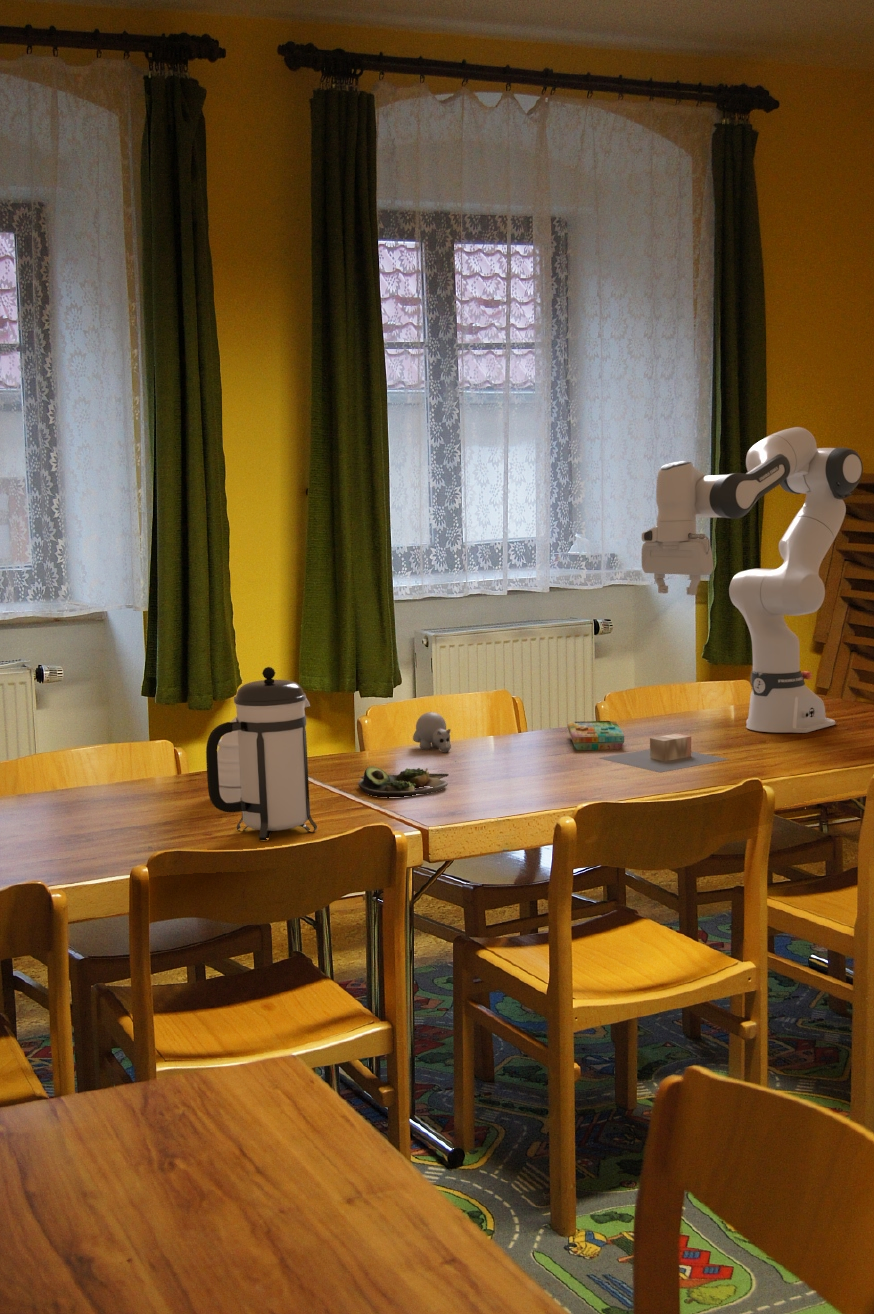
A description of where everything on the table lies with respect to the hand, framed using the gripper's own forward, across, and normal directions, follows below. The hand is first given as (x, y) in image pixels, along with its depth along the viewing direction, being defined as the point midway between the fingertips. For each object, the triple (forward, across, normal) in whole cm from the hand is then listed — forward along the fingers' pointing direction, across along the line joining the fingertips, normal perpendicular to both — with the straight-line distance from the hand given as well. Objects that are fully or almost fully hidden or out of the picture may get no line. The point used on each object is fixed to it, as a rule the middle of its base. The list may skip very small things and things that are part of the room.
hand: (677, 594), depth 295 cm
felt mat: (+35, -10, +14) cm, 39 cm away
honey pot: (+36, +19, +101) cm, 109 cm away
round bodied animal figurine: (+35, +35, +45) cm, 67 cm away
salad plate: (+36, +5, +73) cm, 81 cm away
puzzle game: (+36, +15, +13) cm, 41 cm away
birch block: (+33, -10, +16) cm, 38 cm away
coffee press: (+36, -11, +109) cm, 115 cm away
